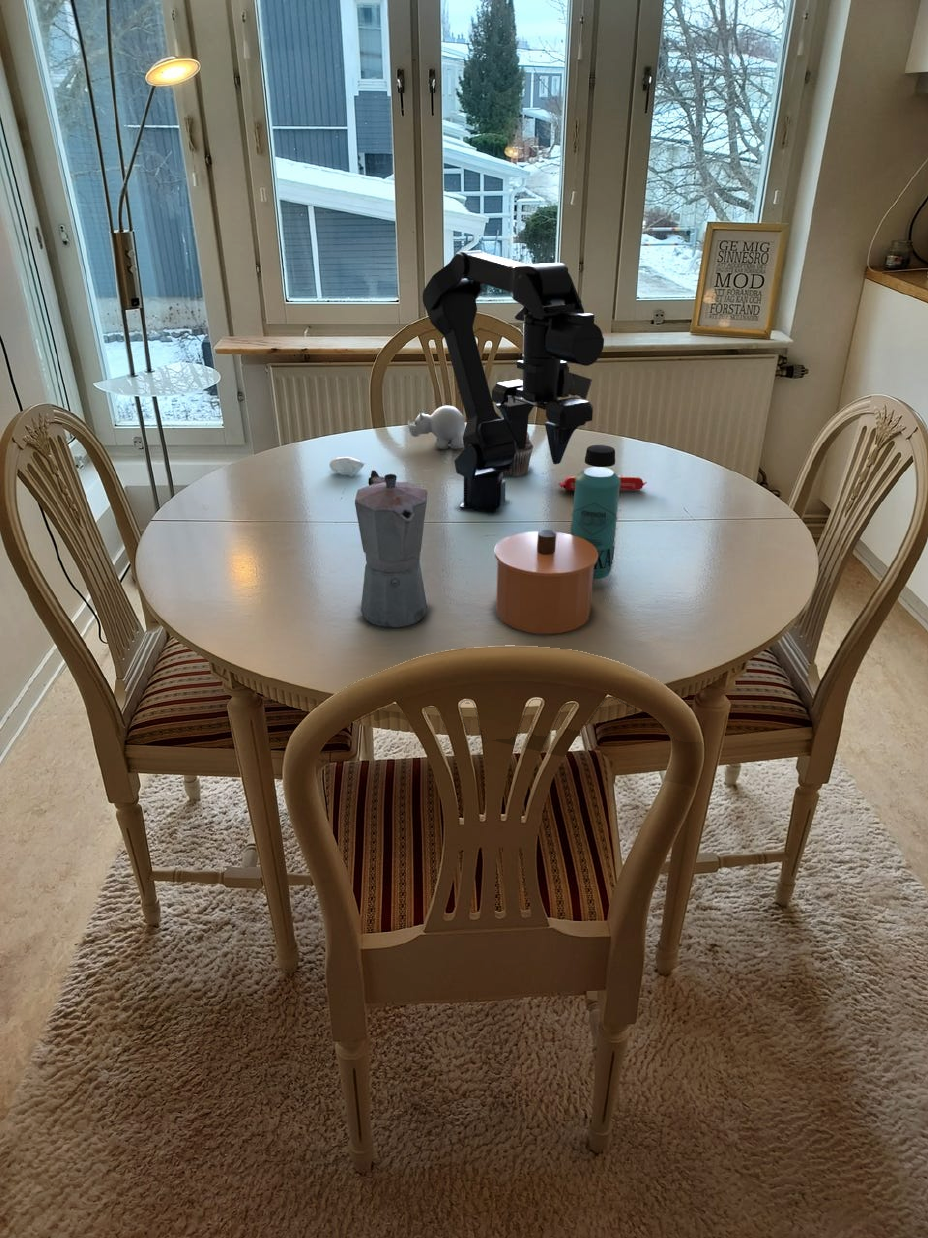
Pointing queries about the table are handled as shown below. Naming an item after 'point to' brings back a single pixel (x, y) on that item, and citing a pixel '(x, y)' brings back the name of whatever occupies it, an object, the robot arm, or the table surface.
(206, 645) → the table surface
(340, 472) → the dumpling
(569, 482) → the candy bar
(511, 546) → the pot lid
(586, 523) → the beverage bottle
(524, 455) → the cupcake
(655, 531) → the table surface
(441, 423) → the toy rhinoceros
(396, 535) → the moka pot
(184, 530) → the table surface
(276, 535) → the table surface
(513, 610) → the pot
